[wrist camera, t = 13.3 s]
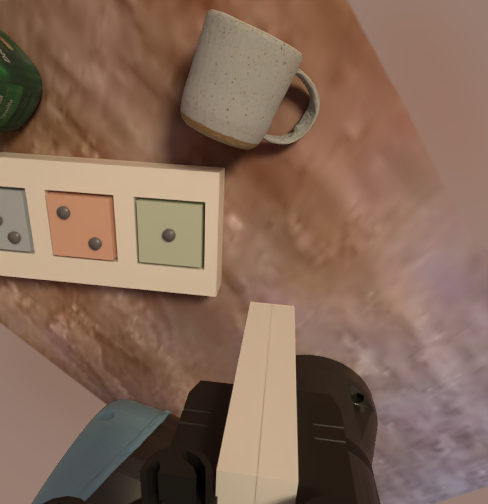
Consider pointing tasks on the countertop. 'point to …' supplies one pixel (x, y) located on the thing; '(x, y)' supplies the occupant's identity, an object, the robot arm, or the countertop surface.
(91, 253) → the two-pip button
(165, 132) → the countertop surface
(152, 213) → the one-pip button
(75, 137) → the countertop surface
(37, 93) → the coffee jar
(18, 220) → the three-pip button
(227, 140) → the ceramic mug
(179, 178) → the button panel
